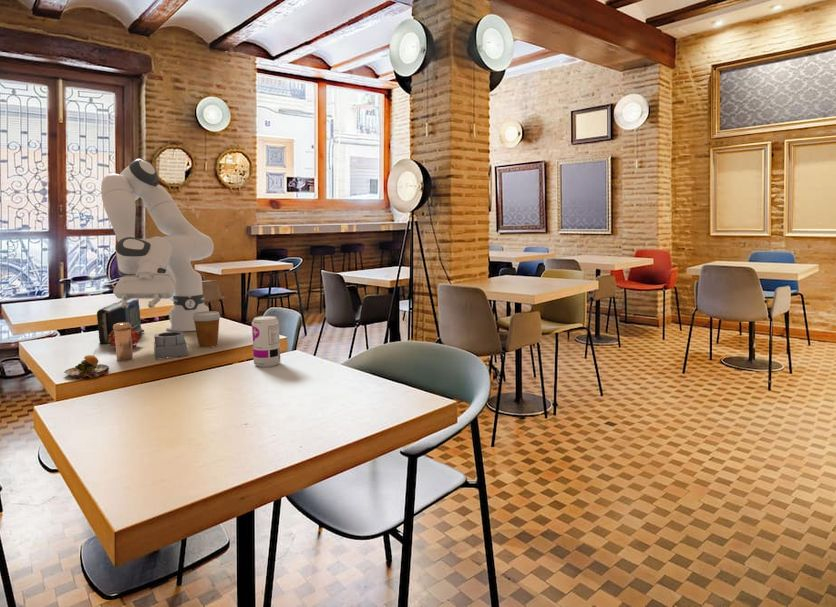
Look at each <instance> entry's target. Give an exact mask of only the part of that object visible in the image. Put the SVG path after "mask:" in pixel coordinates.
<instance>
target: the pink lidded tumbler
mask: <svg viewBox="0 0 836 607" xmlns="http://www.w3.org/2000/svg"><path fill="white" fill-rule="evenodd" d="M113 330H114V334H115V345H116V346H115V355H116V361H117V362H119V361H124V362H130V361H132V359H133V360H134V355H133V354H134V353H133V348H132V340H131V324H130V323H117V324H114V326H113ZM129 360H130V361H129Z"/></svg>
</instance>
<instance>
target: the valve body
mask: <svg viewBox="0 0 836 607" xmlns="http://www.w3.org/2000/svg"><path fill="white" fill-rule="evenodd" d="M185 338H186V337H185V331H163V332H159V333H155V334H154V341H153V351H154V352H153V353H154V360H159V359H158V358H164V359H168V358H167V357H173V358H179V357H178V356H183V357H188V356H189V355H188V343H187V342H186V339H185Z"/></svg>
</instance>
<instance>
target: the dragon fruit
mask: <svg viewBox="0 0 836 607" xmlns="http://www.w3.org/2000/svg"><path fill="white" fill-rule="evenodd" d="M141 338H142V335H141V333H140V334H139V333H138V332H136V330H131V340H132V349H133V348H136V347H138V345H137V344H138V342H139V340H141ZM108 342H109V344H110V345H109V346H110V347H112V348H114V347H115V348H116V345H115V334H114V330H113V331H111V334H109V335H108Z"/></svg>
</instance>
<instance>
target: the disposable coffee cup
mask: <svg viewBox="0 0 836 607" xmlns="http://www.w3.org/2000/svg"><path fill="white" fill-rule="evenodd" d="M192 318H193V320H194V323H195V328H196V331H195V332H196V337H197V343H198V347H199V348H202V347H209V348H213V347H212V346H215V347H217V346H218V341H219V328H220V327H219V326H220V319H221V315H220V312H219V311H214V310H213V311H212V310H209V311H205V312H197V313H194V315H193V317H192ZM216 345H217V346H216Z"/></svg>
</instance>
